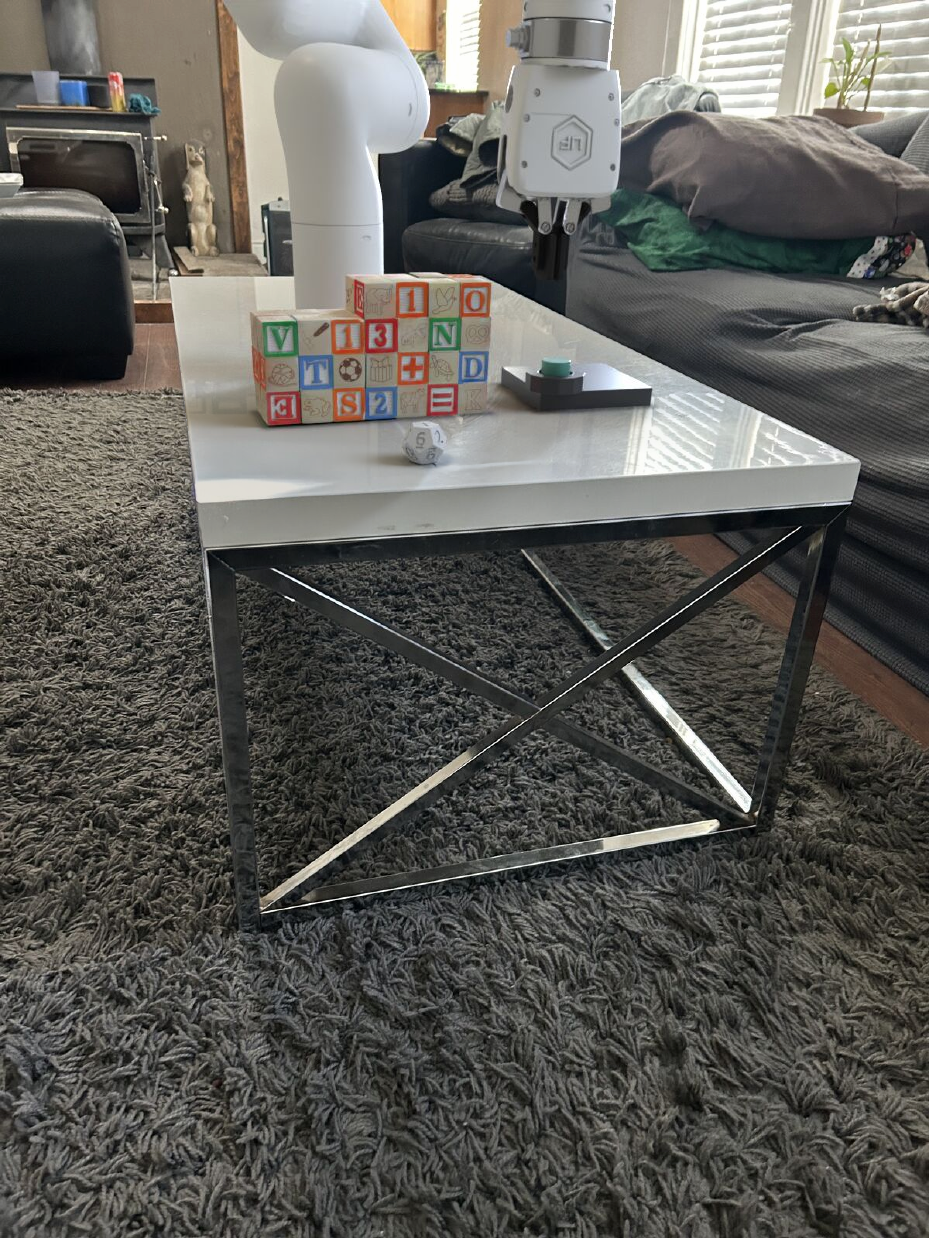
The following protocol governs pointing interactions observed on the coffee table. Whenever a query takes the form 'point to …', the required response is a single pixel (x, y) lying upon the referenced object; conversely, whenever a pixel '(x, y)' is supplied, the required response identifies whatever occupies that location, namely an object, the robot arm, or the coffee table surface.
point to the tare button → (555, 366)
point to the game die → (424, 442)
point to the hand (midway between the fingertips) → (548, 278)
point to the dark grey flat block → (576, 388)
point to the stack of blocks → (376, 351)
